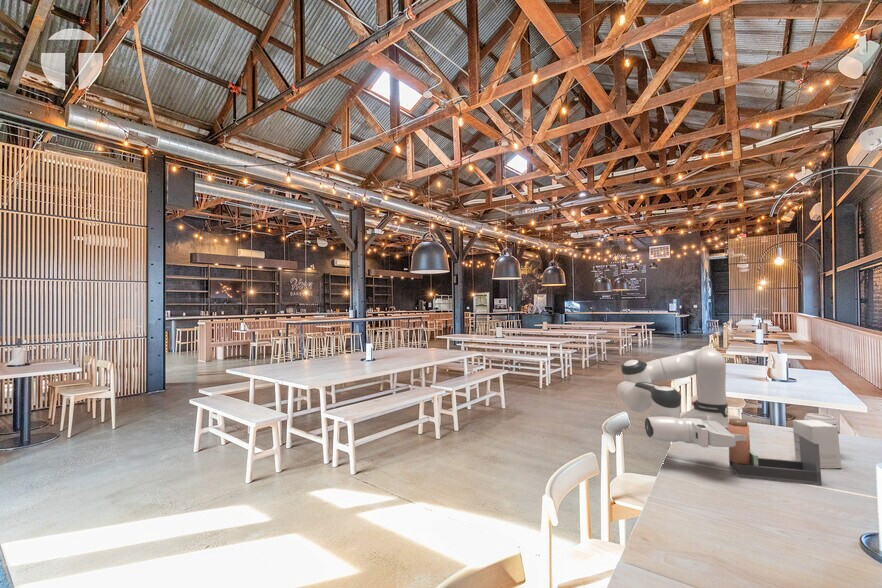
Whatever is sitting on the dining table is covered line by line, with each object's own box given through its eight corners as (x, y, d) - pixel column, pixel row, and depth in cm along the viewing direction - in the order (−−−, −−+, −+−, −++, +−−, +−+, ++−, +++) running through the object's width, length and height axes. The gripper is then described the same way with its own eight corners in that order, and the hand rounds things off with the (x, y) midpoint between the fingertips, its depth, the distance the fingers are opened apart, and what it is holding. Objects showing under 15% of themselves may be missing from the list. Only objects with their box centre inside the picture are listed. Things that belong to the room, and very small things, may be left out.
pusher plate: (754, 473, 134) (753, 455, 135) (746, 465, 141) (745, 448, 142) (758, 473, 134) (757, 455, 134) (750, 466, 141) (749, 448, 141)
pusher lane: (739, 477, 135) (737, 438, 135) (729, 466, 144) (727, 430, 145) (821, 485, 127) (818, 444, 128) (805, 473, 137) (802, 435, 137)
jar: (726, 460, 139) (724, 420, 140) (732, 456, 143) (731, 417, 143) (747, 465, 134) (745, 423, 135) (753, 461, 138) (751, 420, 139)
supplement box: (820, 460, 149) (817, 419, 149) (842, 469, 140) (839, 426, 141) (794, 459, 149) (791, 419, 150) (814, 468, 141) (811, 425, 141)
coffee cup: (847, 459, 149) (844, 418, 150) (821, 459, 149) (818, 419, 150) (823, 450, 158) (821, 412, 159) (799, 450, 159) (796, 412, 159)
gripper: (689, 431, 153) (731, 435, 148) (704, 448, 134) (754, 453, 129) (688, 415, 153) (730, 417, 149) (703, 429, 134) (752, 433, 129)
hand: (741, 434), depth 139 cm, fingers closed on jar, 6 cm apart
